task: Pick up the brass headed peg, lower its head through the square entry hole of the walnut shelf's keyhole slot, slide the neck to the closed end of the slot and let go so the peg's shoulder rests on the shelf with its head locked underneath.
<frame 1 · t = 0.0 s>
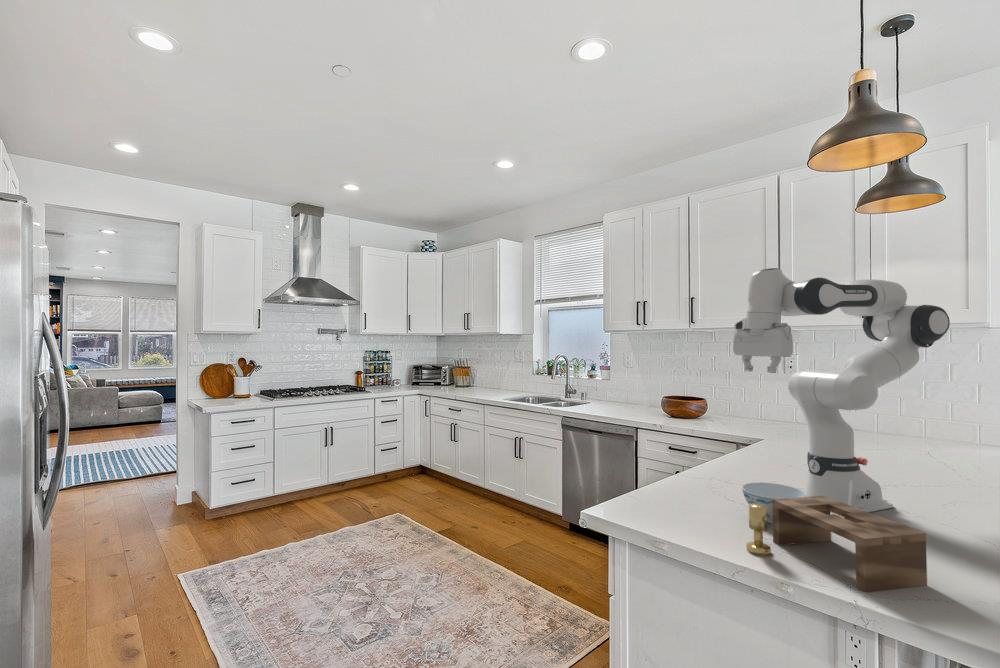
hand: (759, 372, 139), 39 cm above the counter, fingers open, 8 cm apart
keyhole shelf: (842, 561, 105), on the counter
brass peg: (758, 551, 110), on the counter
chinaware: (773, 520, 130), on the counter
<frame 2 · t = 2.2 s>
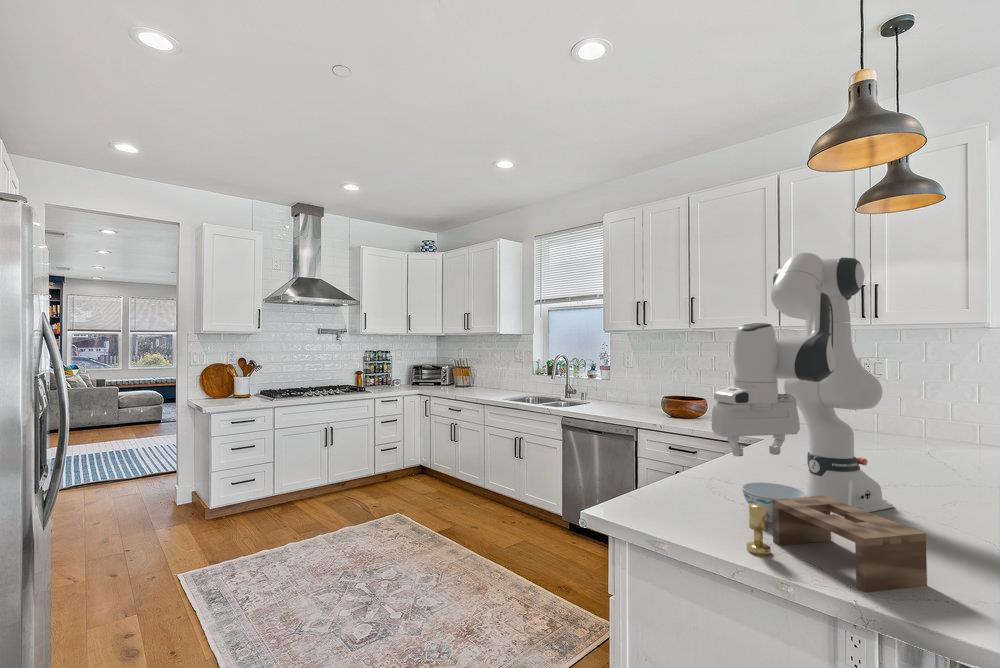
hand: (756, 455, 111), 22 cm above the counter, fingers open, 8 cm apart
nothing on the counter moved.
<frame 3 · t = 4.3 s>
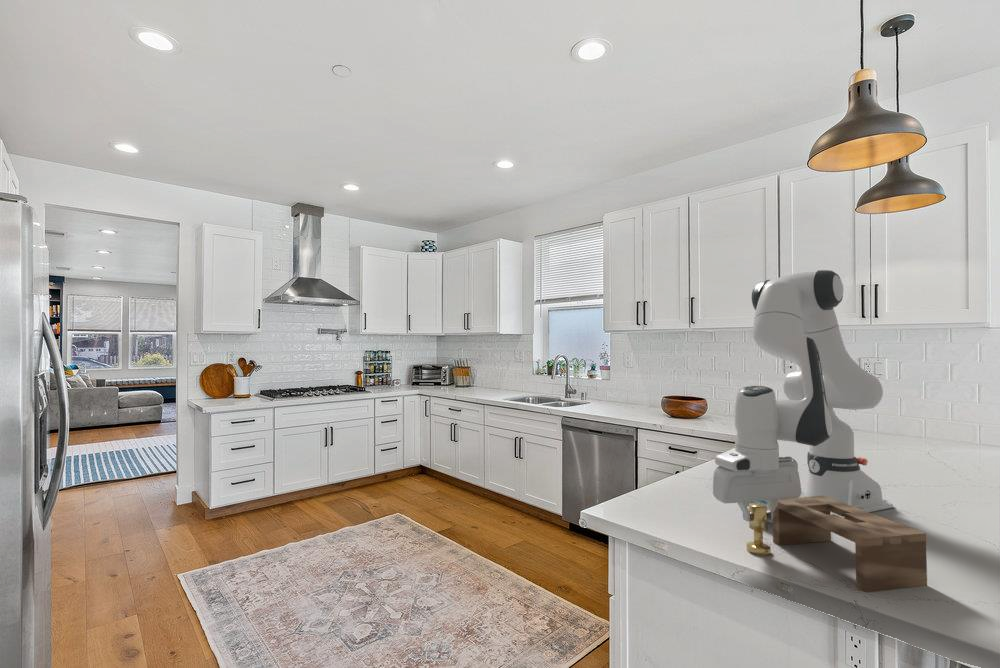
hand: (757, 519, 110), 7 cm above the counter, fingers closed on brass peg, 4 cm apart
brass peg: (758, 551, 110), on the counter, touching gripper
everything else where it was.
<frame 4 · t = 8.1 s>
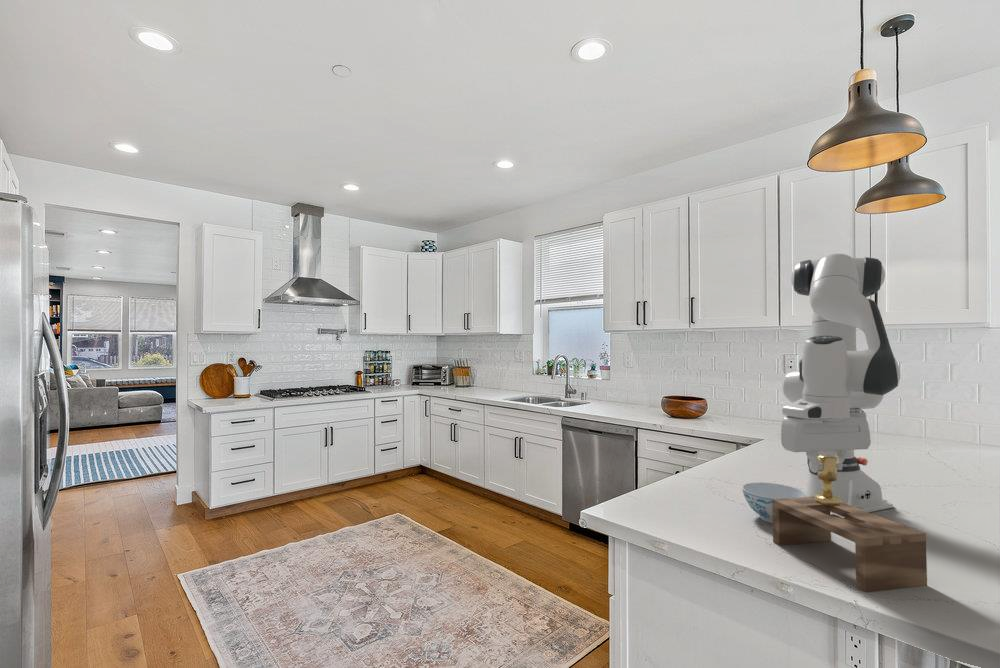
hand: (826, 470, 109), 19 cm above the counter, fingers closed on brass peg, 4 cm apart
brass peg: (827, 502, 108), point 12 cm above the counter, touching gripper
everything else where it was.
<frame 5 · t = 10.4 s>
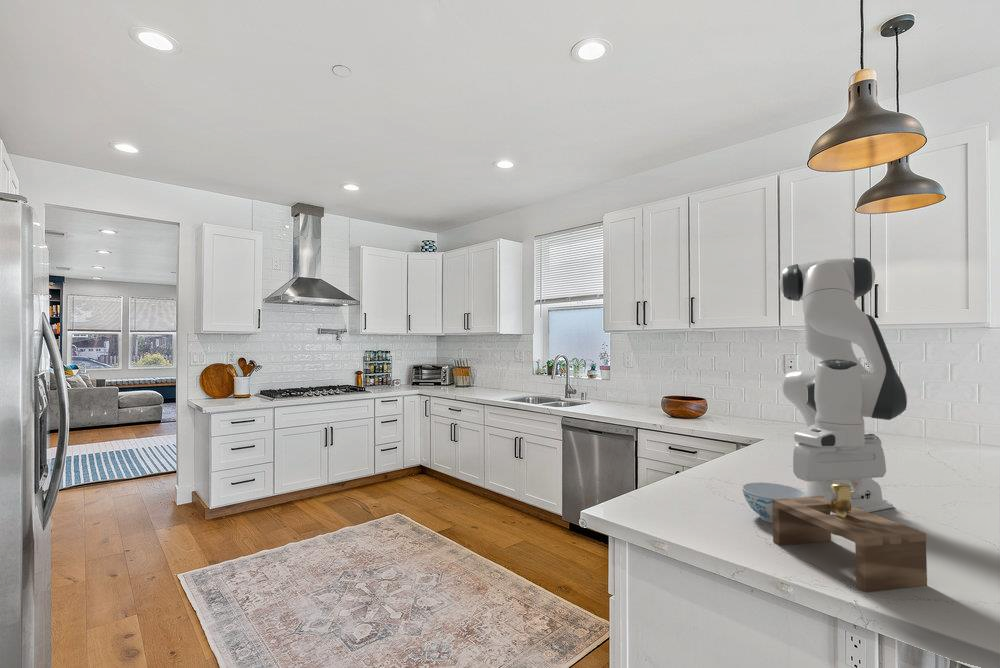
hand: (840, 499, 105), 13 cm above the counter, fingers closed on brass peg, 4 cm apart
brass peg: (841, 532, 105), point 6 cm above the counter, touching gripper
everything else where it was.
when the fingers open (12 cm above the counter, at t = 12.1 s): brass peg stays where it is, resting on keyhole shelf.
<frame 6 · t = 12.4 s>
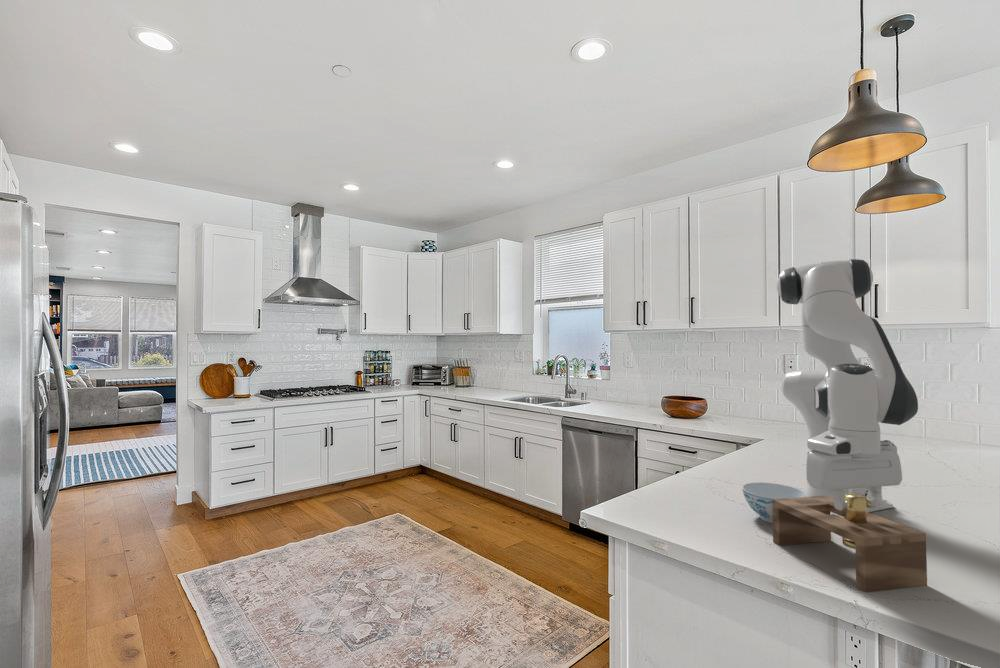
hand: (855, 508, 102), 12 cm above the counter, fingers open, 6 cm apart
brass peg: (856, 545, 102), point 5 cm above the counter, touching keyhole shelf
everything else where it was.
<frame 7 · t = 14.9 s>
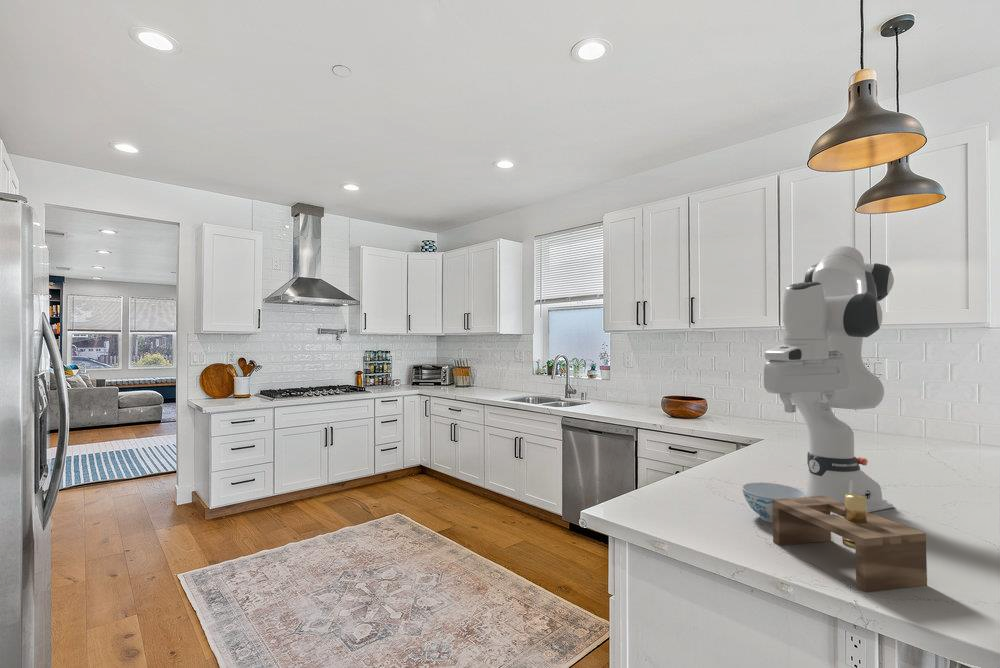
hand: (807, 411, 113), 31 cm above the counter, fingers open, 8 cm apart
nothing on the counter moved.
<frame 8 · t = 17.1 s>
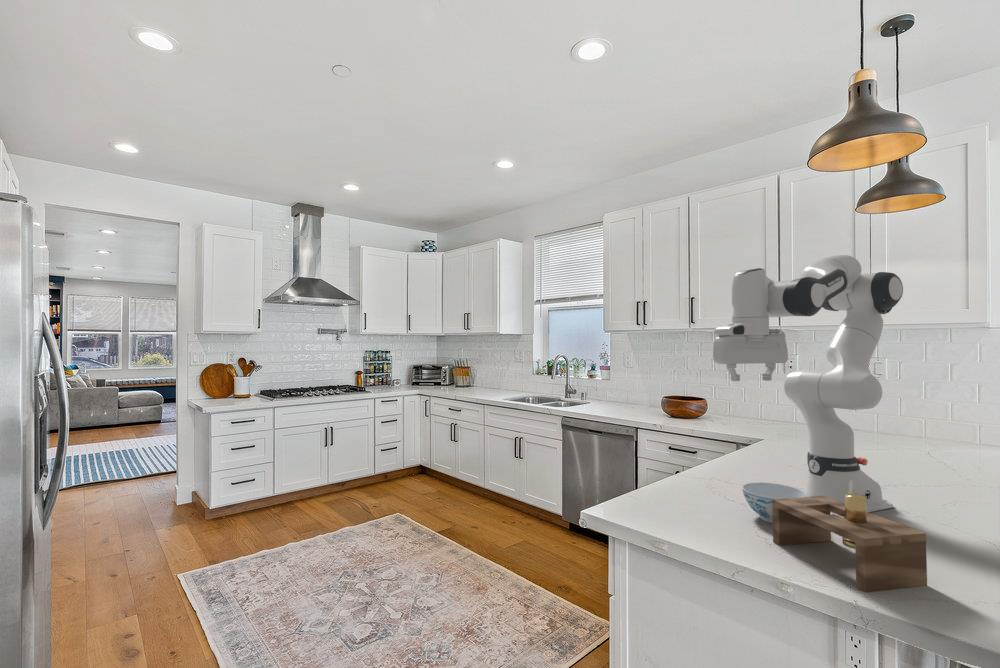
hand: (751, 380, 130), 37 cm above the counter, fingers open, 8 cm apart
nothing on the counter moved.
at the end: brass peg 0.0 cm from the target spot on the keyhole shelf, point 4.8 cm above the keyhole shelf's base; brass peg touching keyhole shelf; the gripper is holding nothing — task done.
